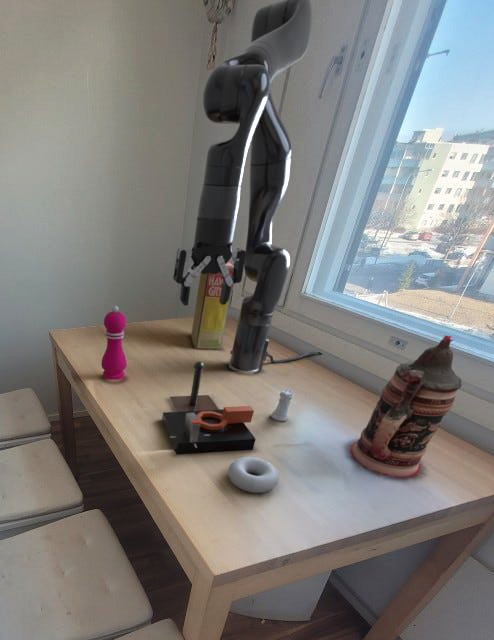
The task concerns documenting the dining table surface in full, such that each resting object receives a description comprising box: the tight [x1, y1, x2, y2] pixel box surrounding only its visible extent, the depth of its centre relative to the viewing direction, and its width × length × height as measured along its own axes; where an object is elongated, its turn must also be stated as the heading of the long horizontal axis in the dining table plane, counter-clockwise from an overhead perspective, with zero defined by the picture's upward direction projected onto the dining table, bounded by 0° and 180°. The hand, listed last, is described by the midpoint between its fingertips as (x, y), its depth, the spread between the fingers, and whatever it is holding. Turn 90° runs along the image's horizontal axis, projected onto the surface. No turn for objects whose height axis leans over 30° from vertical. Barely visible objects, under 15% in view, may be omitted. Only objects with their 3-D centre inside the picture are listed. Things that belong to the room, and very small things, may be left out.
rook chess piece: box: [270, 389, 295, 422], centre depth 102 cm, size 4×4×8 cm
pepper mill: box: [100, 305, 128, 381], centre depth 115 cm, size 7×7×20 cm
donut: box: [227, 456, 280, 494], centre depth 84 cm, size 10×4×10 cm
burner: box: [199, 417, 230, 433], centre depth 97 cm, size 9×9×1 cm
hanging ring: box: [196, 405, 255, 430], centre depth 96 cm, size 13×7×3 cm, turn 99°
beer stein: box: [349, 335, 463, 480], centre depth 85 cm, size 17×28×18 cm
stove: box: [161, 409, 257, 456], centre depth 96 cm, size 19×16×3 cm
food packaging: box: [190, 260, 235, 350], centre depth 138 cm, size 13×9×25 cm
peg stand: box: [169, 360, 220, 412], centre depth 105 cm, size 11×10×12 cm
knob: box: [184, 413, 200, 442], centre depth 90 cm, size 5×2×5 cm, turn 8°
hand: (203, 304), depth 90 cm, fingers open, 8 cm apart
